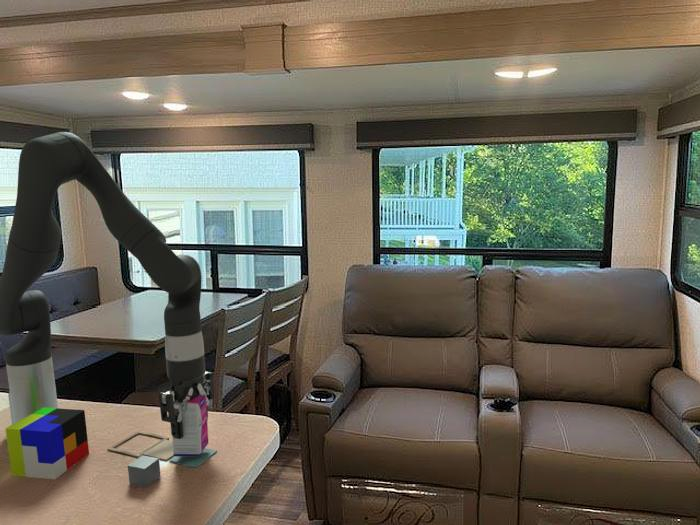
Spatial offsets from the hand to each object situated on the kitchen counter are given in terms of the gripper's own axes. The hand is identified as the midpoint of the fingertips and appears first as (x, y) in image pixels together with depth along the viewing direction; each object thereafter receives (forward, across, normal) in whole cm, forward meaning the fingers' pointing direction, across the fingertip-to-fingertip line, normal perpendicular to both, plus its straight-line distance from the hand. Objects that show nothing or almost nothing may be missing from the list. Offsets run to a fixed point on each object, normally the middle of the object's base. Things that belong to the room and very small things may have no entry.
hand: (190, 429), depth 111 cm
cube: (+6, -11, +3) cm, 13 cm away
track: (+6, 0, +8) cm, 10 cm away
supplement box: (+5, 0, 0) cm, 5 cm away
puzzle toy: (+7, -13, +26) cm, 30 cm away
